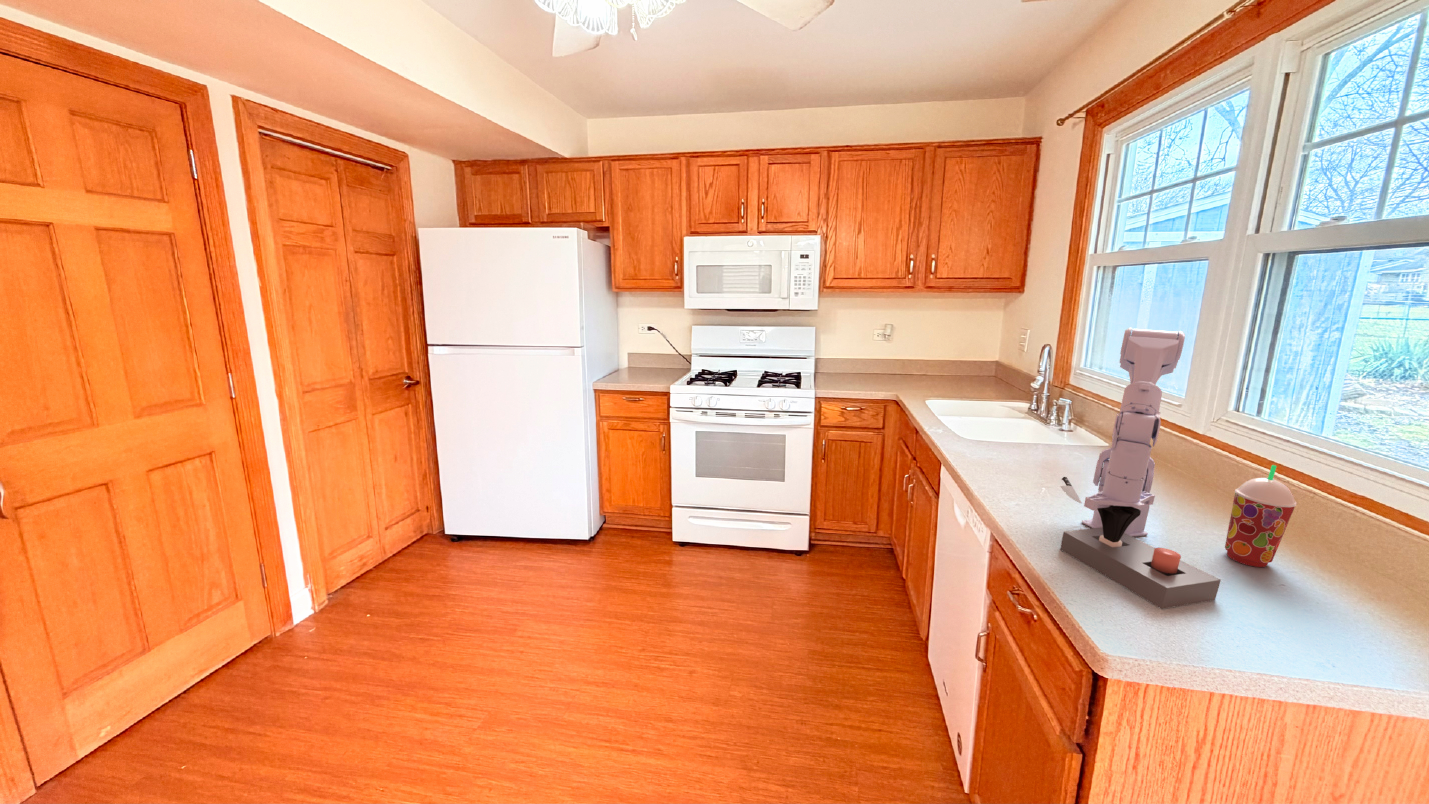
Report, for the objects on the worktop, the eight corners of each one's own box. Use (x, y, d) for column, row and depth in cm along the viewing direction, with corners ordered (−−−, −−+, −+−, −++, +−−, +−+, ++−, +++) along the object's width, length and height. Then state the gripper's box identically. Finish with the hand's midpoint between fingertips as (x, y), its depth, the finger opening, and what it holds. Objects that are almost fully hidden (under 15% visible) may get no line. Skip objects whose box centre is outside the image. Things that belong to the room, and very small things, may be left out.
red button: (1161, 561, 96) (1164, 546, 95) (1182, 572, 93) (1186, 556, 92) (1145, 563, 95) (1149, 548, 95) (1166, 574, 92) (1170, 559, 91)
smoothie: (1259, 553, 108) (1287, 461, 103) (1287, 575, 100) (1318, 476, 95) (1209, 546, 111) (1234, 455, 106) (1232, 566, 103) (1259, 469, 98)
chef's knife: (1068, 505, 130) (1083, 507, 129) (1069, 501, 130) (1083, 502, 129) (1054, 478, 147) (1066, 479, 146) (1054, 474, 147) (1067, 475, 146)
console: (1106, 543, 111) (1110, 526, 110) (1214, 600, 92) (1220, 579, 91) (1060, 549, 108) (1063, 531, 107) (1161, 609, 89) (1167, 587, 88)
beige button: (1106, 547, 106) (1109, 534, 106) (1123, 557, 103) (1127, 543, 102) (1092, 549, 105) (1095, 536, 105) (1109, 559, 102) (1112, 545, 101)
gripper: (1115, 485, 95) (1100, 553, 98) (1177, 480, 98) (1160, 546, 101) (1080, 471, 101) (1067, 535, 105) (1139, 466, 105) (1124, 529, 108)
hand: (1110, 539), depth 103 cm, fingers closed, pressing on beige button
